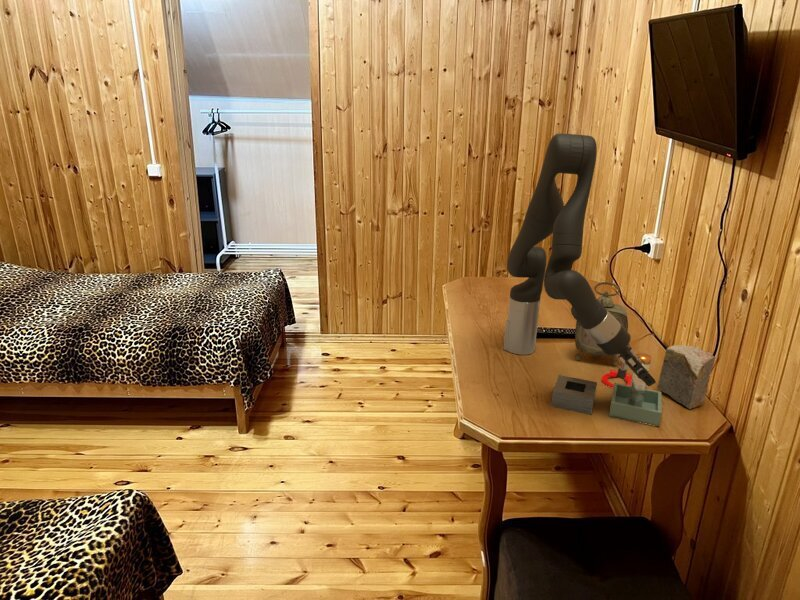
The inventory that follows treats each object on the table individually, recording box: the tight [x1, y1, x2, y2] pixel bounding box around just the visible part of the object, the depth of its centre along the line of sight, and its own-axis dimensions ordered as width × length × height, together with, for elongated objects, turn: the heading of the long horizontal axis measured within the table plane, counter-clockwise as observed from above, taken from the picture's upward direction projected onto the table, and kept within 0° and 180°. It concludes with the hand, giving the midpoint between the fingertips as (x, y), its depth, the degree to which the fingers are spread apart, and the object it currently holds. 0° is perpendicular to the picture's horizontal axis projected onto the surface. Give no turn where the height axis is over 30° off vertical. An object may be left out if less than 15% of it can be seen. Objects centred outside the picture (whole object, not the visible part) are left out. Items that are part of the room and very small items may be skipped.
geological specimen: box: [657, 344, 716, 410], centre depth 151 cm, size 11×6×15 cm, turn 24°
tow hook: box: [601, 360, 632, 389], centre depth 160 cm, size 8×13×9 cm
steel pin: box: [627, 352, 652, 407], centre depth 145 cm, size 4×4×15 cm
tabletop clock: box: [574, 281, 629, 367], centre depth 172 cm, size 14×9×25 cm, turn 72°
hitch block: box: [550, 374, 598, 416], centre depth 150 cm, size 10×10×4 cm
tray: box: [608, 382, 663, 427], centre depth 147 cm, size 12×12×4 cm
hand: (646, 375), depth 144 cm, fingers open, 8 cm apart
